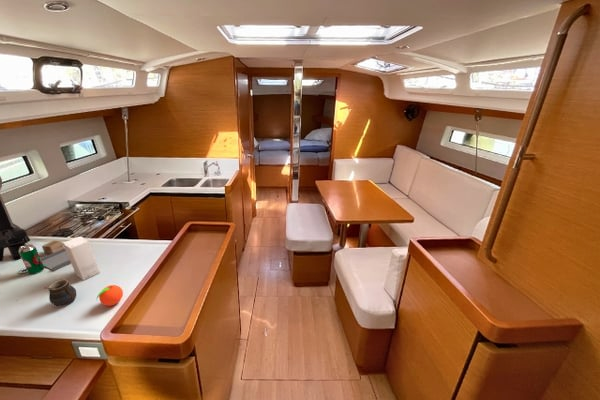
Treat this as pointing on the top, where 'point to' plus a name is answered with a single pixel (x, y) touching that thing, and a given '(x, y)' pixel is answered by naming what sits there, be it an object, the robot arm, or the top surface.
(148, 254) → the top surface
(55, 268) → the tray
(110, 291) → the clementine
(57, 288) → the mate gourd
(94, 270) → the skincare box
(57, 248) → the walnut block
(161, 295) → the top surface
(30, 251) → the soda can
